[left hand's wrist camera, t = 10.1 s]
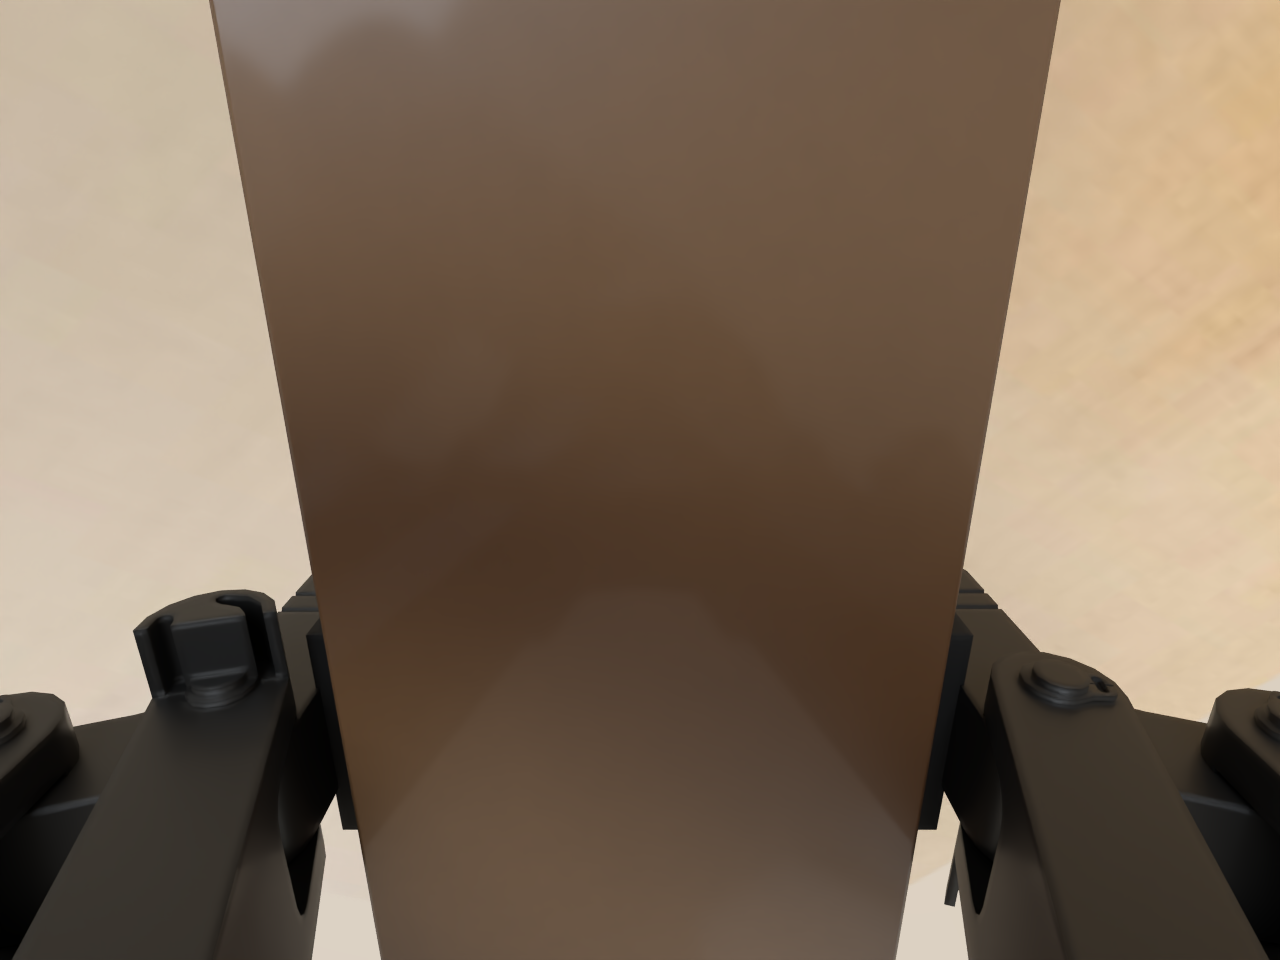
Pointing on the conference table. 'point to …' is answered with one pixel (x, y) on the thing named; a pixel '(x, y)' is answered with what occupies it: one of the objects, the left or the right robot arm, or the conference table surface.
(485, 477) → the beam
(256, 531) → the conference table surface
